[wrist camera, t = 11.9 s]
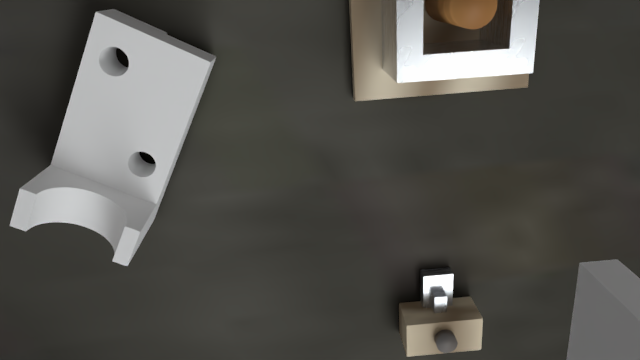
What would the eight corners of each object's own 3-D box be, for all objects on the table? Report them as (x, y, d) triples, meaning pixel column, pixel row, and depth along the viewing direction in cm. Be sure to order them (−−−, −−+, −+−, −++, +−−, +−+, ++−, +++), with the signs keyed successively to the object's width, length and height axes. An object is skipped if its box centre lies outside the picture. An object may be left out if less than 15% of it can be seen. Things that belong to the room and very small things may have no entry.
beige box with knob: (399, 332, 43) (409, 363, 40) (398, 303, 42) (408, 332, 39) (468, 326, 43) (484, 356, 40) (470, 296, 42) (486, 325, 39)
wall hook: (420, 310, 42) (425, 323, 41) (420, 269, 41) (426, 282, 39) (448, 307, 43) (455, 320, 41) (449, 267, 41) (456, 279, 39)
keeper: (353, 98, 36) (367, 123, 29) (344, -94, 31) (359, -114, 25) (521, 84, 36) (572, 107, 29) (536, -108, 32) (600, -131, 25)
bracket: (157, 214, 38) (127, 266, 31) (62, 179, 37) (9, 225, 30) (218, 54, 34) (200, 73, 27) (115, 8, 33) (67, 16, 26)
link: (382, 69, 34) (397, 83, 29) (380, -62, 31) (395, -70, 26) (499, 60, 34) (532, 73, 30) (508, -71, 31) (546, -80, 27)
